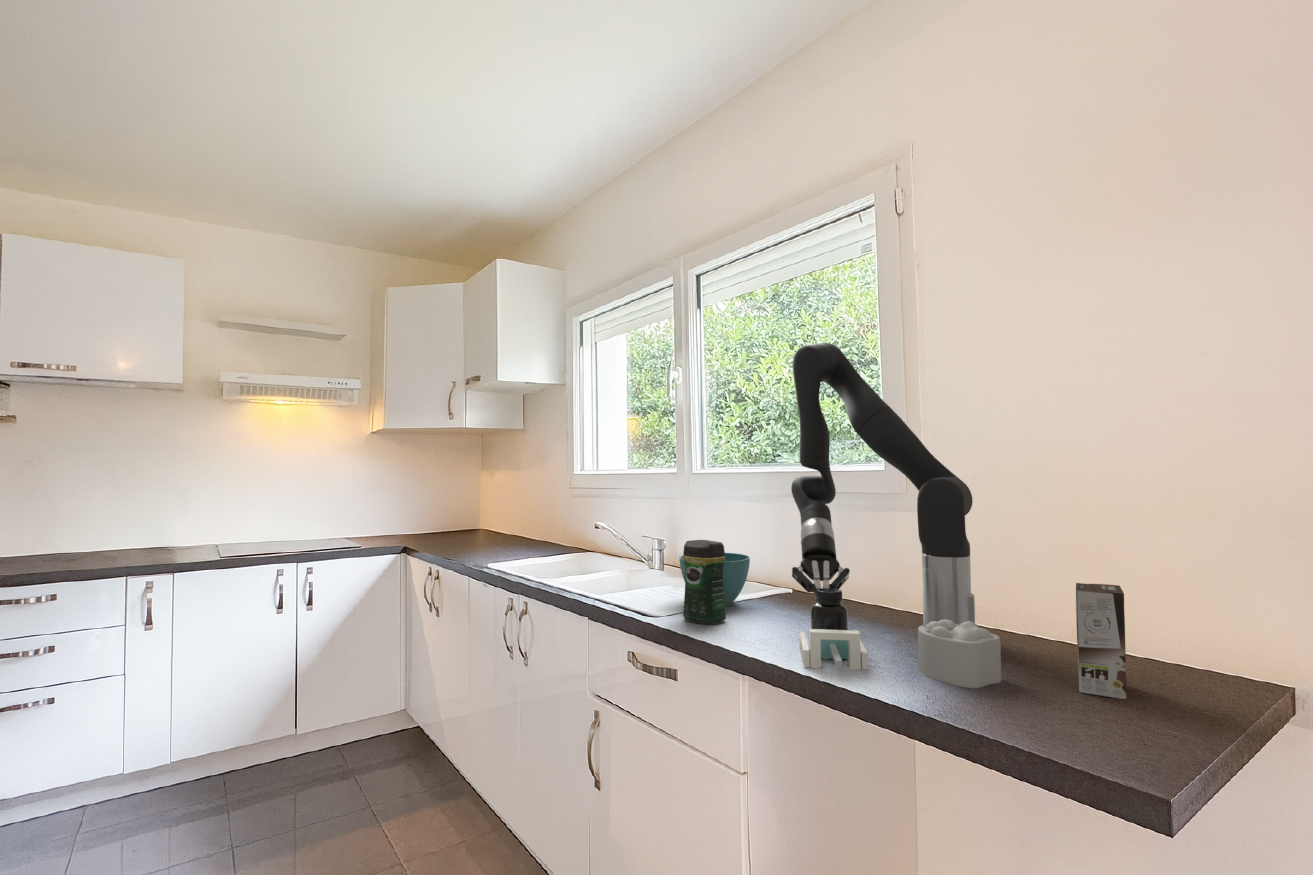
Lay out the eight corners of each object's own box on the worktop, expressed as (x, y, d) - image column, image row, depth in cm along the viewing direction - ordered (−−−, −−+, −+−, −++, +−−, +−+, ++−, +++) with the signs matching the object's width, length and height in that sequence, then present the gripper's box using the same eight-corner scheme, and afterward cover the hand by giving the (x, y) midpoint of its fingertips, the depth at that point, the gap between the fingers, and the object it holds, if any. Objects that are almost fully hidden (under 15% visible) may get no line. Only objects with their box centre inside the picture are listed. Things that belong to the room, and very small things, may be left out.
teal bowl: (705, 614, 162) (705, 563, 162) (666, 601, 178) (666, 554, 178) (764, 606, 171) (764, 558, 171) (722, 594, 187) (722, 550, 187)
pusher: (854, 657, 124) (853, 635, 124) (863, 677, 112) (863, 653, 112) (809, 655, 125) (809, 634, 126) (814, 675, 114) (814, 651, 114)
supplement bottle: (850, 659, 124) (849, 593, 125) (812, 657, 125) (811, 592, 126) (845, 649, 131) (845, 587, 132) (810, 647, 132) (809, 586, 133)
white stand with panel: (857, 649, 130) (857, 617, 131) (867, 669, 118) (867, 634, 118) (799, 647, 132) (799, 615, 132) (803, 667, 119) (803, 631, 120)
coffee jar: (731, 621, 155) (731, 540, 156) (708, 627, 149) (708, 543, 150) (700, 614, 162) (700, 537, 163) (677, 619, 156) (677, 539, 157)
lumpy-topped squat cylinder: (969, 690, 107) (967, 635, 107) (903, 669, 118) (902, 619, 119) (1009, 680, 112) (1008, 627, 112) (942, 660, 123) (941, 613, 124)
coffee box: (1128, 700, 102) (1124, 593, 103) (1078, 693, 105) (1075, 589, 106) (1124, 684, 110) (1121, 584, 110) (1078, 677, 113) (1075, 580, 114)
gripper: (788, 531, 153) (791, 596, 140) (848, 532, 151) (857, 597, 138) (788, 551, 158) (791, 616, 145) (846, 552, 156) (854, 618, 143)
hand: (823, 607), depth 142 cm, fingers closed
